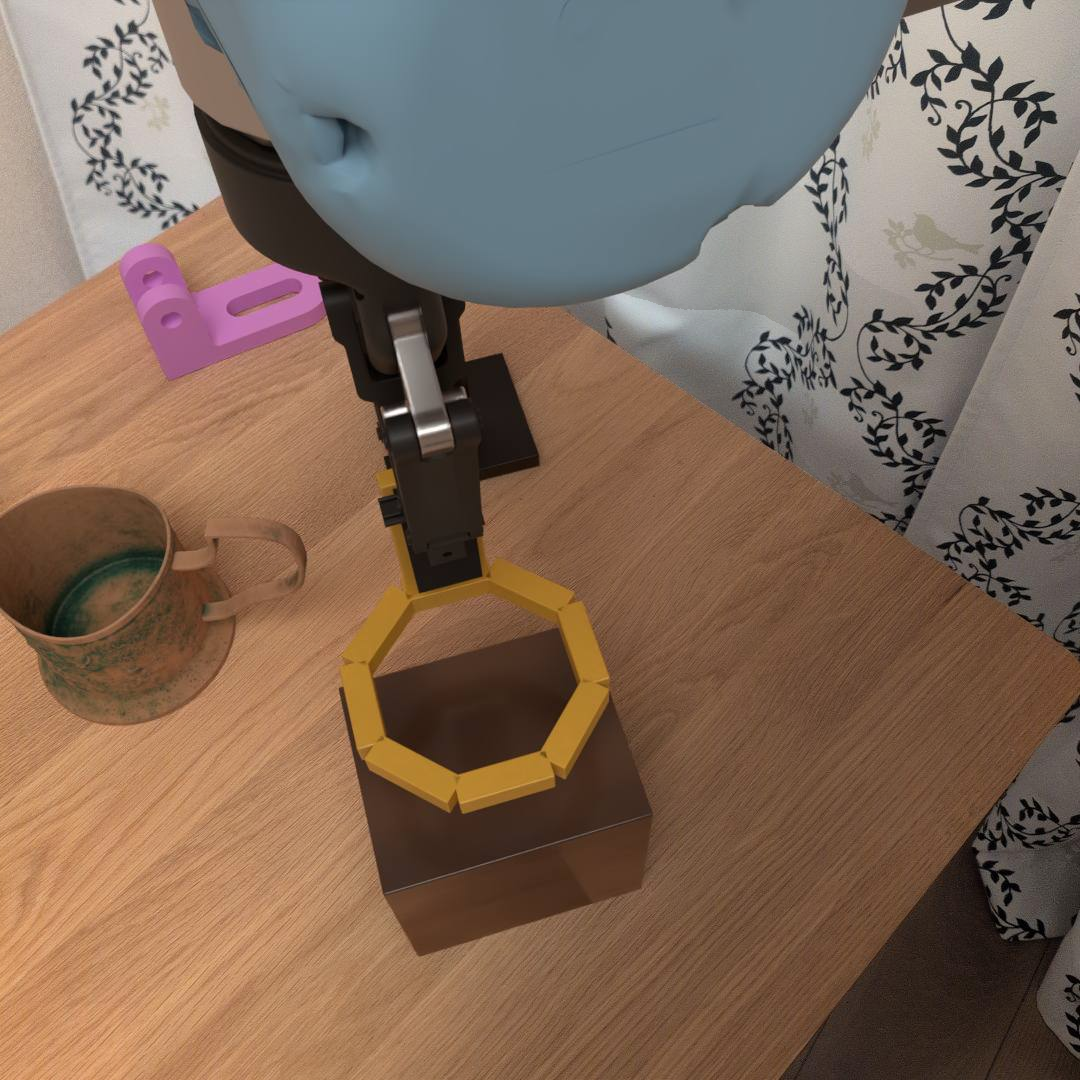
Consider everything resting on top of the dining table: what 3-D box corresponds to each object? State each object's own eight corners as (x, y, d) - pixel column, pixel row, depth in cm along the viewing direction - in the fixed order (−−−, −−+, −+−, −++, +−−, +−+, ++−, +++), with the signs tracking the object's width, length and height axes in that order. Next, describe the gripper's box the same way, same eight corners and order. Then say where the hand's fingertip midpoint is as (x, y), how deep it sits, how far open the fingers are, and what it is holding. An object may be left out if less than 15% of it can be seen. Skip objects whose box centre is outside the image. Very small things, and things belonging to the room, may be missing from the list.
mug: (325, 723, 65) (278, 626, 55) (19, 726, 66) (-84, 631, 56) (343, 549, 71) (304, 433, 61) (63, 554, 72) (-23, 439, 62)
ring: (636, 764, 45) (646, 661, 38) (379, 839, 44) (334, 749, 36) (560, 549, 51) (555, 421, 43) (329, 611, 50) (280, 490, 42)
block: (641, 888, 60) (653, 814, 50) (418, 957, 59) (383, 895, 48) (584, 717, 65) (584, 619, 55) (377, 777, 64) (337, 687, 53)
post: (540, 465, 74) (532, 326, 63) (404, 500, 73) (371, 365, 62) (503, 363, 79) (490, 216, 68) (375, 395, 78) (340, 251, 67)
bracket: (168, 381, 79) (134, 310, 73) (145, 327, 82) (110, 255, 76) (343, 313, 82) (324, 240, 76) (315, 263, 84) (295, 189, 79)
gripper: (574, 216, 25) (580, 683, 45) (426, -115, 32) (488, 415, 52) (227, 297, 24) (392, 737, 44) (155, -63, 31) (325, 456, 51)
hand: (444, 561), depth 48 cm, fingers closed on ring
